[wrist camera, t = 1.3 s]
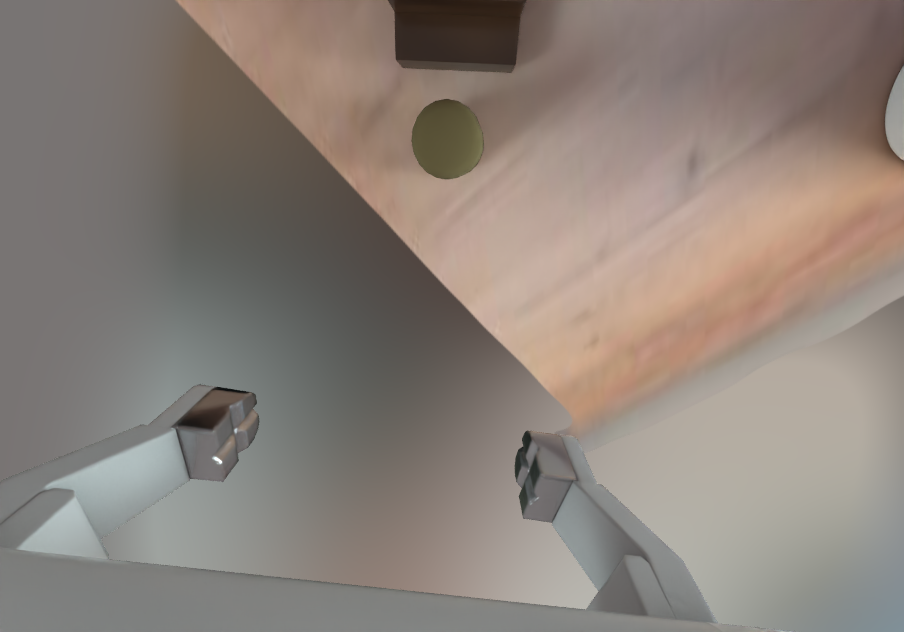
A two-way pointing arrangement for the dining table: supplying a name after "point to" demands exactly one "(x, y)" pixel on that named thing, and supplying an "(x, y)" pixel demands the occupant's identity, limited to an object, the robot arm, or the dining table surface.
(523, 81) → the dining table surface
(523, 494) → the robot arm
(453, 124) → the cork
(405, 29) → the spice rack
